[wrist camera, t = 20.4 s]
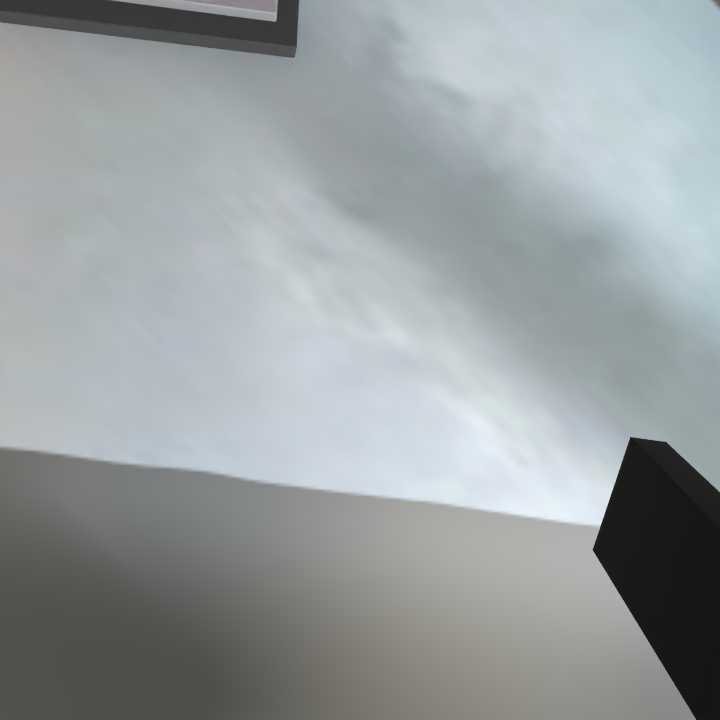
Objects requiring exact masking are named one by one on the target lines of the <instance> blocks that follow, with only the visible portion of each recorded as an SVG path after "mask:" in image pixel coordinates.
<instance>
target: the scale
mask: <svg viewBox="0 0 720 720" xmlns="http://www.w3.org/2000/svg"><path fill="white" fill-rule="evenodd" d="M298 8H299V0H0V22H4V23H12V24H21V25H29V26H37V27H45V28H53V29H62V30H70V31H78V32H86V33H95V34H103V35H111V36H119V37H127V38H136V39H144V40H152V41H160V42H169V43H177V44H185V45H193V46H201V47H210V48H218V49H226V50H234V51H243V52H251V53H259V54H267V55H275V56H284V57H292V58H294V57H295V52H296V47H297V27H298Z"/></svg>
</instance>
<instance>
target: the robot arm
mask: <svg viewBox="0 0 720 720" xmlns="http://www.w3.org/2000/svg"><path fill="white" fill-rule="evenodd" d="M593 551H594V553H595V554H596V556H597V558H598V559H599V561H600V563H601V564H602V566H603V567H604V569H605V571H606V572H607V574H608V576H609V577H610V579H611V581H612V582H613V584H614V586H615V587H616V589H617V590H618V592H619V594H620V595H621V597H622V599H623V600H624V602H625V604H626V605H627V607H628V609H629V610H630V612H631V613H632V615H633V617H634V618H635V620H636V621H637V623H638V625H639V626H640V628H641V630H642V631H643V633H644V635H645V636H646V638H647V640H648V641H649V643H650V645H651V646H652V648H653V649H654V651H655V653H656V654H657V656H658V658H659V659H660V661H661V662H662V664H663V666H664V667H665V669H666V671H667V672H668V674H669V676H670V677H671V679H672V681H673V682H674V684H675V686H676V687H677V689H678V690H679V692H680V694H681V695H682V697H683V699H684V700H685V702H686V704H687V705H688V706H689V708H690V710H691V712H692V713H693V715H694V717H695V718H696V720H720V492H719V491H718V490H717V489H716V488H715V487H713V486H712V485H711V484H710V483H709V482H708V481H707V480H706V479H705V478H704V477H703V476H702V475H701V474H700V473H699V472H697V471H696V470H695V469H694V468H693V467H692V466H691V465H690V464H689V463H688V462H687V461H686V460H685V459H684V458H682V457H681V456H680V455H679V454H678V453H677V452H676V451H675V450H674V449H673V448H672V447H671V446H670V445H669V444H668V443H666V442H662V441H654V440H647V439H640V438H633V437H630V440H629V443H628V446H627V449H626V452H625V455H624V458H623V461H622V464H621V467H620V470H619V473H618V476H617V479H616V482H615V485H614V488H613V491H612V494H611V497H610V500H609V503H608V506H607V509H606V512H605V515H604V518H603V521H602V524H601V527H600V530H599V533H598V536H597V539H596V542H595V545H594V548H593Z"/></svg>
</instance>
